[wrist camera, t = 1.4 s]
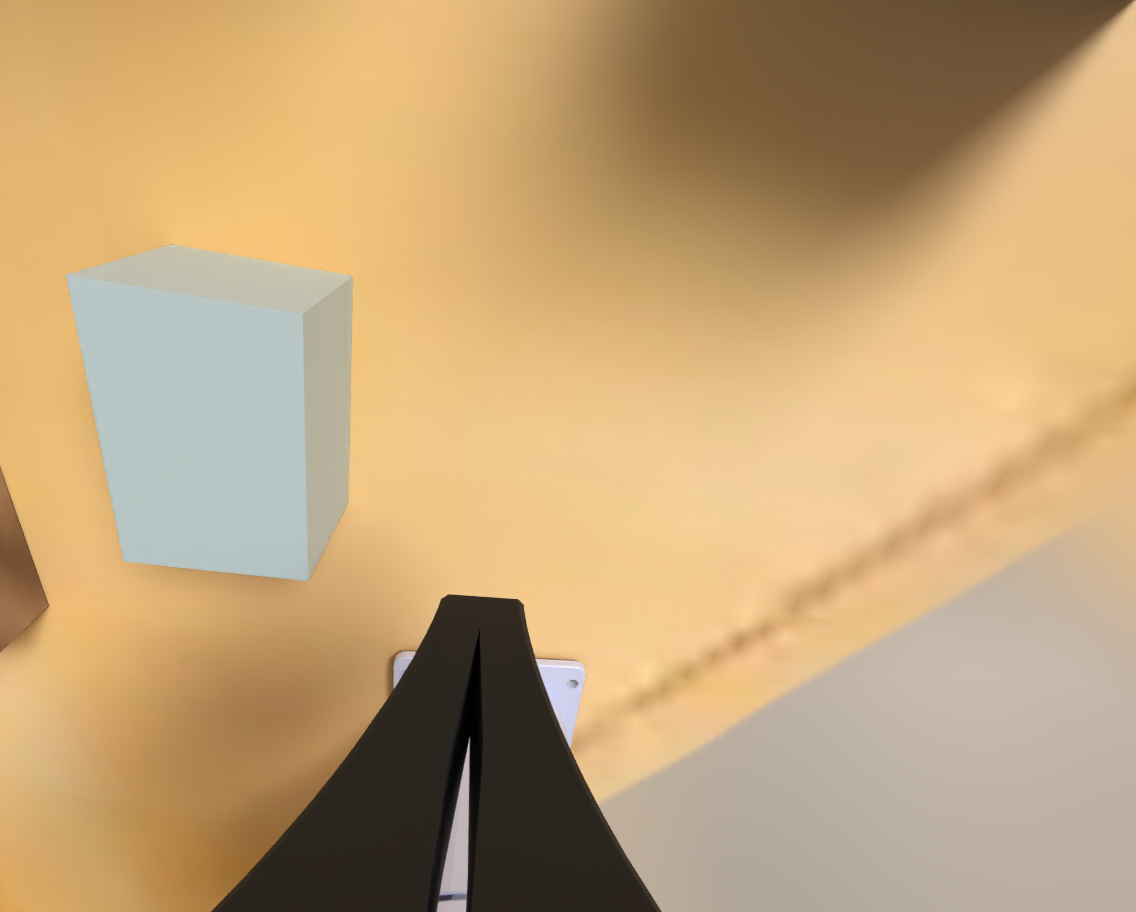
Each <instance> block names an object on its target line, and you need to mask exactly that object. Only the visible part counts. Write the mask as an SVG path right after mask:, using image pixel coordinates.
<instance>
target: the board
mask: <svg viewBox="0 0 1136 912" xmlns="http://www.w3.org/2000/svg"><path fill="white" fill-rule="evenodd" d="M47 607H48V603H47V600H46V597H45V594H44V592H43V589H42V586H41V583H40V580H39V577H38V575H37V572H36V569H35V566H34V563H33V560H32V558H31V555H30V552H29V549H28V546H27V543H26V541H25V538H24V535H23V532H22V529H21V526H20V524H19V521H18V518H17V515H16V512H15V509H14V507H13V504H12V501H11V498H10V495H9V492H8V490H7V487H6V484H5V481H4V478H3V475H2V472H1V470H0V652H1V651H2V650H3V649H4V648H5V647H6V646H7V645H8V644H9V643H10V642H11V641H13V640H14V639H15V638H16V637H17V636H18V635H19V634H20V633H21V632H22V631H23V630H24V629H25V628H26V627H27V626H28V625H29V624H30V623H31V622H32V621H33V620H35V619H36V618H37V617H38V616H39V615H40V614H41V613H42V612H43V611H44V610H45V609H46V608H47Z"/></svg>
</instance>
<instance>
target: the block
mask: <svg viewBox="0 0 1136 912" xmlns="http://www.w3.org/2000/svg"><path fill="white" fill-rule="evenodd" d="M66 277H67V282H68V287H69V292H70V297H71V302H72V307H73V312H74V317H75V322H76V327H77V332H78V337H79V342H80V347H81V352H82V357H83V362H84V367H85V372H86V377H87V382H88V387H89V392H90V397H91V402H92V407H93V412H94V417H95V422H96V427H97V432H98V437H99V442H100V447H101V452H102V457H103V462H104V467H105V472H106V477H107V481H108V486H109V491H110V496H111V501H112V506H113V511H114V516H115V521H116V526H117V531H118V536H119V541H120V546H121V551H122V556H123V561H124V562H133V563H142V564H152V565H161V566H170V567H180V568H189V569H199V570H208V571H218V572H227V573H236V574H246V575H255V576H265V577H274V578H283V579H293V580H302V581H308V580H309V578H310V576H311V574H312V572H313V570H314V568H315V566H316V564H317V563H318V561H319V559H320V557H321V555H322V553H323V551H324V549H325V547H326V545H327V543H328V541H329V539H330V537H331V535H332V533H333V531H334V529H335V527H336V525H337V523H338V521H339V519H340V517H341V515H342V513H343V511H344V510H345V508H346V506H347V504H348V500H349V450H350V400H351V350H352V300H353V276H350V275H344V274H339V273H333V272H327V271H322V270H316V269H310V268H304V267H299V266H293V265H287V264H282V263H276V262H270V261H265V260H259V259H253V258H248V257H242V256H236V255H230V254H225V253H219V252H213V251H208V250H202V249H196V248H191V247H185V246H179V245H174V244H172V245H168V246H165V247H161V248H158V249H154V250H151V251H147V252H144V253H140V254H137V255H133V256H130V257H126V258H123V259H119V260H116V261H112V262H109V263H105V264H102V265H98V266H95V267H91V268H88V269H84V270H81V271H77V272H74V273H70V274H67V275H66Z"/></svg>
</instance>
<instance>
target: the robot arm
mask: <svg viewBox="0 0 1136 912" xmlns="http://www.w3.org/2000/svg"><path fill="white" fill-rule="evenodd" d="M585 676H586V674H585V666H584V665H583V664H582V663H580V662H577V661H567V660H550V659H535V655H534V652H533V648H532V645H531V641H530V637H529V633H528V629H527V624H526V619H525V613H524V605H523V604H522V603H521V602H520V601H519V600H518V599H507V598H492V597H478V596H463V595H449V594H448V595H447V596H445V597H444V598H442V599H441V601H440V604H439V607H438V609H437V612H436V614H435V616H434V619H433V621H432V623H431V625H430V627H429V629H428V631H427V633H426V635H425V637H424V639H423V641H422V643H421V644H420V646H419V648H418V650H417V652H413V651H403V652H400V653H398V654H397V655H396V657H395V661H394V664H393V691H392V693H391V694H390V696H389V698H388V699H387V701H386V702H385V704H384V705H383V706H382V708H381V709H380V711H379V712H378V714H377V715H376V716H375V718H374V719H373V721H372V722H371V724H370V725H369V727H368V728H367V729H366V731H365V732H364V734H363V735H362V737H361V738H360V739H359V741H358V742H357V744H356V745H355V746H354V748H353V749H352V750H351V752H350V753H349V754H348V756H347V757H346V758H345V760H344V761H343V762H342V764H341V765H340V766H339V767H338V769H337V770H336V771H335V773H334V774H333V775H332V776H331V778H330V779H329V780H328V781H327V783H326V784H325V785H324V786H323V788H322V789H321V790H320V791H319V793H318V794H317V795H316V796H315V798H314V799H313V800H312V801H311V802H310V804H309V805H308V806H307V807H306V808H305V809H304V811H303V812H302V813H301V814H300V815H299V816H298V818H297V819H296V820H295V821H294V822H293V823H292V825H291V826H290V827H289V828H288V829H287V830H286V831H285V833H284V834H283V835H282V836H281V837H280V838H279V840H278V841H277V842H276V843H275V844H274V845H273V846H272V848H271V849H270V850H269V851H268V852H267V853H266V854H265V855H264V856H263V858H262V859H261V860H260V861H259V862H258V863H257V864H256V865H255V866H254V867H253V869H252V870H251V871H250V872H249V873H248V874H247V875H246V876H245V877H244V878H243V879H242V880H241V881H240V882H239V883H238V884H237V886H236V887H235V888H234V889H233V890H232V891H231V892H230V893H229V894H228V895H227V896H226V897H225V898H224V899H223V900H222V901H221V902H220V903H219V904H218V905H217V906H216V907H215V908H214V909H213V910H212V911H211V912H661V910H660V909H659V907H658V905H657V904H656V902H655V901H654V899H653V898H652V896H651V894H650V893H649V891H648V889H647V888H646V886H645V885H644V883H643V882H642V880H641V879H640V877H639V875H638V874H637V872H636V870H635V869H634V867H633V866H632V864H631V863H630V861H629V859H628V858H627V856H626V855H625V853H624V851H623V849H622V848H621V846H620V844H619V842H618V841H617V839H616V837H615V835H614V834H613V832H612V830H611V828H610V826H609V825H608V823H607V821H606V819H605V818H604V816H603V814H602V812H601V810H600V808H599V806H598V804H597V802H596V801H595V799H594V797H593V795H592V793H591V791H590V789H589V787H588V785H587V783H586V781H585V779H584V777H583V775H582V773H581V771H580V769H579V767H578V765H577V763H576V760H575V758H574V756H573V754H572V752H571V749H570V746H571V741H572V737H573V732H574V727H575V723H576V718H577V713H578V709H579V704H580V699H581V695H582V690H583V685H584V681H585ZM570 680H574V681H570Z"/></svg>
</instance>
